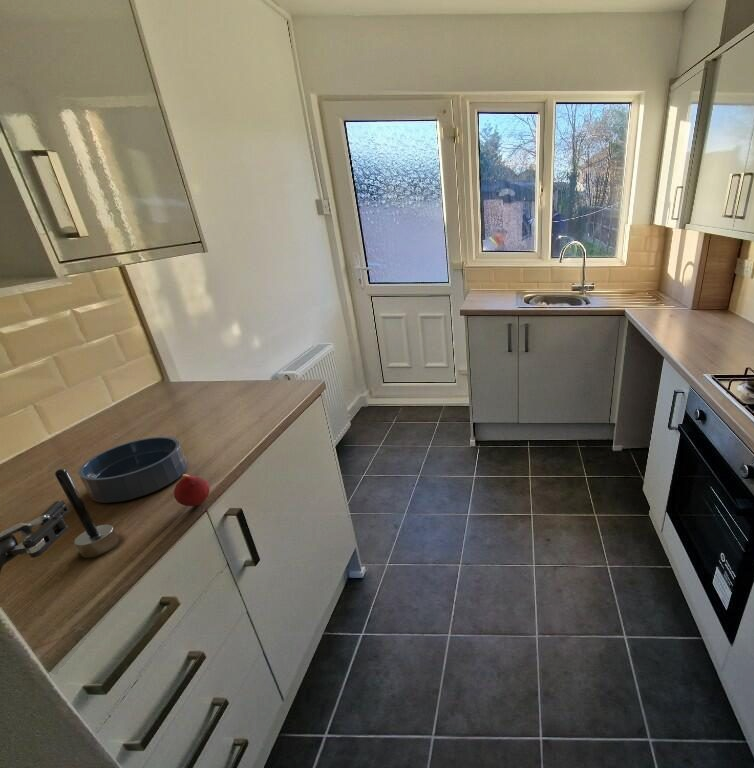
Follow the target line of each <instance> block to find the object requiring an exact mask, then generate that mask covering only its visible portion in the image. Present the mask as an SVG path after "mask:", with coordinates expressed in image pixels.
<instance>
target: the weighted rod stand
mask: <svg viewBox="0 0 754 768" xmlns="http://www.w3.org/2000/svg"><path fill="white" fill-rule="evenodd" d="M54 475H55V477H56V479H57V481H58V483H59V485H60V487H61V488H62V490H63V492H64V494H65V496H66V497H67V499H68V501H69V503H70V505H71V507H72V509H73V510H74V513H75V514H76V516H77V518H78V520H79V521H80V524H81V525H82V527H83V529H84V530H85V531H83V532H81V533H79V535H78V536H77V537H76V538H75V539H74V541H73V542H74V545H75V546H76V549H77V550H78V553H80V555H81V557H82V558H87V559H88V558H95V557H97V556H100V555H102V554H103V555H104V554H105V553H107V552H109V551H111V550H112V549H113V548H114V547H115V546H117V545H118V543H119V541H120V539H119V537H118V534H117V533H116V530H115V528H114V527H113V525H111V524H100V525H96V524H95V522H94V520H93V518H92V516H91V514H90V511H88V509H87V507H86V505H85V503H84V500H83V499H82V497H81V495H80V493H79V492H78V489H77V487H76V486H75V484H74V482H73V480H72V479H71V477H70V474H69V473H68V471H67V470H66V469H64V468H59V469H57V470H55V472H54Z"/></svg>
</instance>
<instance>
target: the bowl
mask: <svg viewBox="0 0 754 768" xmlns="http://www.w3.org/2000/svg"><path fill="white" fill-rule="evenodd" d="M187 469H188V461H187V457H186V456H185V452H184V450H183V447H182V445H181V443H180V441H179V440H178V439H177V438H174V437H171V436H154V437H153V436H151V437H145V438H140V439H136V440H132V441H128V442H125V443H122V444H120V445H116V446H113V447H111V448H108V449H106V450H104V451H102V452H100V453H98V454H96V455H94V456H92V457H91V458H89V459H88V460H87V461H85V462H84V463H83V464H82V465H81V466H80V467H79V469H78V473H77V474H78V476H79V478H80V480H81V482H82V484H83V486H84V487H85V489H86V491H87V493H88V495H89V498H90V500H92V501H95V502H97V503H102V504H103V503H104V504H110V503H120V502H121V503H122V502H125V501H130V500H133V499H136V498H140V497H144V496H147V495H149V494H152V493H154V492H156V491H158V490H160V489H162V488H163V489H164V488H165V487H166V486H168V485H170V484H172V483H173V482H174V481H177V479H179V478H180V477H182V475H183V474H185V473H186V470H187Z"/></svg>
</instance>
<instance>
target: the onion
mask: <svg viewBox="0 0 754 768" xmlns="http://www.w3.org/2000/svg"><path fill="white" fill-rule="evenodd" d="M210 488H211V487H210V484H209V483H208V482H207V481H206V479H204V478H203V477H200V476H197V475H189V474H186V473H183V474H182V475H181V479H180V480H179V481H178V482H177V483H176V485H175V487H174V490H173V498H174V499H175V500H176V502H177V503H178V504H180V505H182V506H184V507H185V506H186V507H194V508H196V507H198V506H200V505H201V504H203V503H204V502H205V501H206V499H208V497H209V494H210V491H211V489H210Z"/></svg>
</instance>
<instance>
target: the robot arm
mask: <svg viewBox="0 0 754 768" xmlns="http://www.w3.org/2000/svg"><path fill="white" fill-rule="evenodd" d="M68 513H70V508H69V507H68V505H67V503H66V502H65V500H56V501H54V502H53V503H52V504H51V506H49V507H48V508H47V509H46V510H44V511H43V513H41V515H40V516H39V517H37V518H34V519H32V520H30V521H28V522H25V523H24V522H19V523H17V524H15V525H13V526H11V527H8V528H6V529H5V530H2V531H0V573H1V572H2V569H3V568H4V565H6V564H7V563H8V562H10V561H12V560H13V559H15V558H16V557H18V556H19V555H26V554H28V555H29V557H30V558H32V559H34V558H38V557H40V556H41V555H42V554H44V553H45V552H46V551H47V550H48V549H49V548H50V547H51V546H52V545H53V544H54V543H55V542H56V541H57V540H59V538H60V537H61V536H63V535H64V534H65V533H66V532H67V531H68V530H69V526H68V525H67V523H66V521H65V519H64V517H65V516H66V515H68ZM37 526H40V527H39V528H38V529H36V530H35V531H34V532H33V531H32V529H33V528H35V527H37ZM16 533H20V534H21V536H22V537H23V541H21V542H20V543H19V542H18V539H17V538H16V536H15V535H14V534H16Z"/></svg>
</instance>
